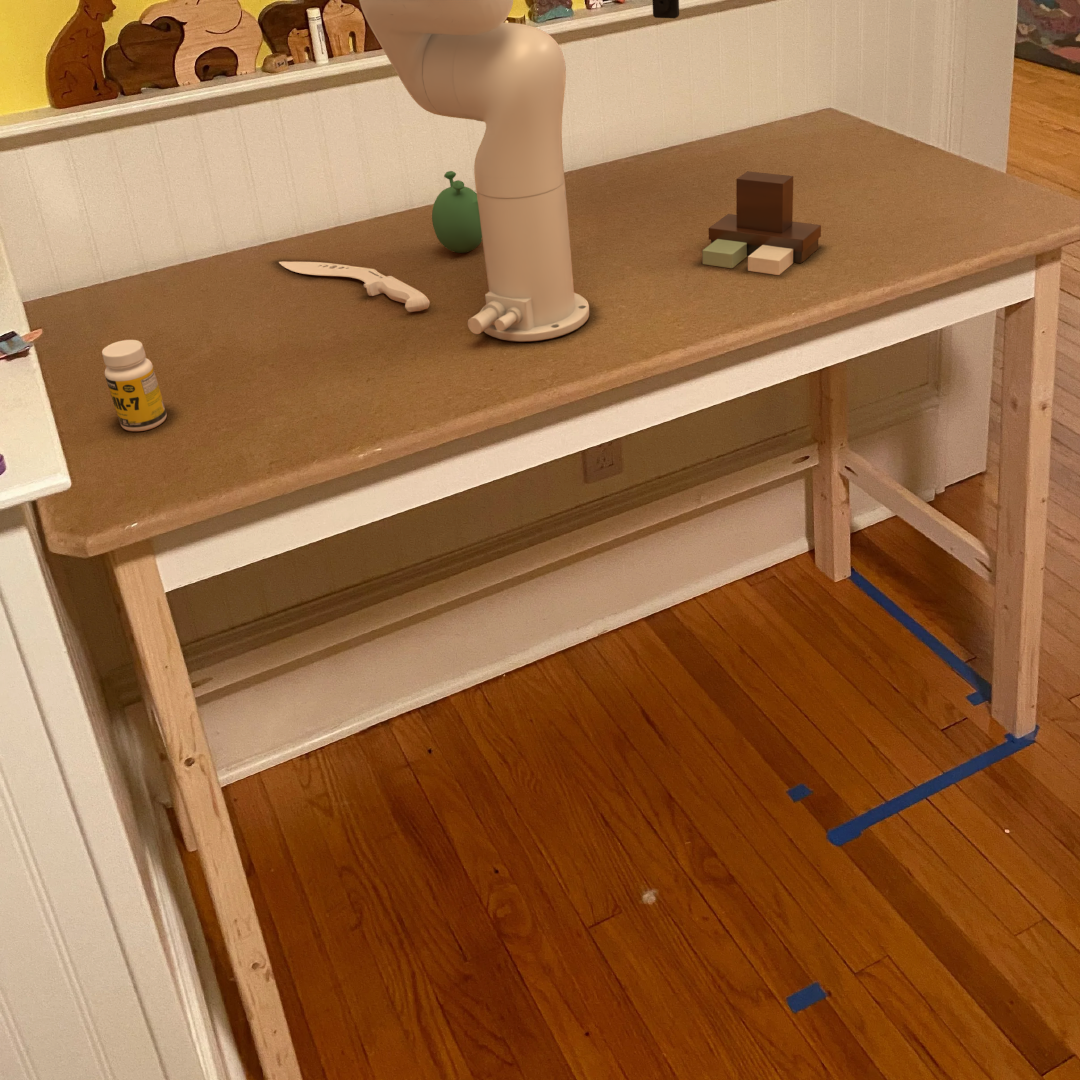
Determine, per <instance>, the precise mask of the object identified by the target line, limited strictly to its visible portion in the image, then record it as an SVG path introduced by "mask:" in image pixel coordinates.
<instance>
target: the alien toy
mask: <svg viewBox="0 0 1080 1080" xmlns="http://www.w3.org/2000/svg"><path fill="white" fill-rule="evenodd" d="M444 173H445V174H444V175H443V177H444V178H445V179H447V180H448V181H449V184H450V186H449V187H445V189H443V190H441V192H439V194H438V195H437V197H436V199H435V200H434V202H433V206H432V211H431V222H432V227H433V230H434V233H435V236H436V238H437V240H438V241H439V242H440V244H441V245H442V246H443V247H444V248H446V249H447V250H449V252H453V253H455V254H456V253H457V254H466V253H469V252H472V251H474V250H475V249H476V248H477V247H478V246H480V245H481V243H482V242H483V240H482V232H481V224H480V216H479V208H478V200H477V192H475V191H474V190H473V189H471V188H470V187H468V186H465V183H464V181H461V180H454V178H455V177H456V176H457V173H456V172H455V171H453V170H449V171H446V172H444Z"/></svg>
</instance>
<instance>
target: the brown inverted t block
mask: <svg viewBox="0 0 1080 1080" xmlns="http://www.w3.org/2000/svg"><path fill="white" fill-rule="evenodd" d="M735 181H736V182H735V183H736V184H735V185H736V186H735V189H736V190H735V191H736V192H735V193H736V197H735V198H736V199H735V200H736V206H735V207H736V210H735V211H736V214H735V213H727V214H726V215H724V216H723V217H722V218H720V219H719V220H718V221H716V222H714V223H713V224H712V225H710V226H709V227H708V240H709V241H710V244H711V243H713V242H714V241H715V240H717V239H721V240H729V241H737V242H744V243H747V257H748V256H749V255H751V254H752V253H753V252H754V251H756V250H757V249H758V248H759V247H761V246H762V245H767V246H774V247H782V248H789V249H793V263H796V264H802V263H804V261H806V260H807V259H808V258H809V257H811V256H812V255H813V254H814V253H815V252H816V251H818V249H819V239H820V238H821V236H822V225H821V224H815V223H808V222H801V221H800V222H799V221H793V215H794V214H793V211H794V205H793V204H794V175H790V174H789V175H787V174H779V173H777V174H776V173H769V172H768V173H767V172H757V171H749V170H747V171H746V172H744V173H743V174H741V175H740V176H738V177H737V178H736V179H735Z"/></svg>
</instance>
